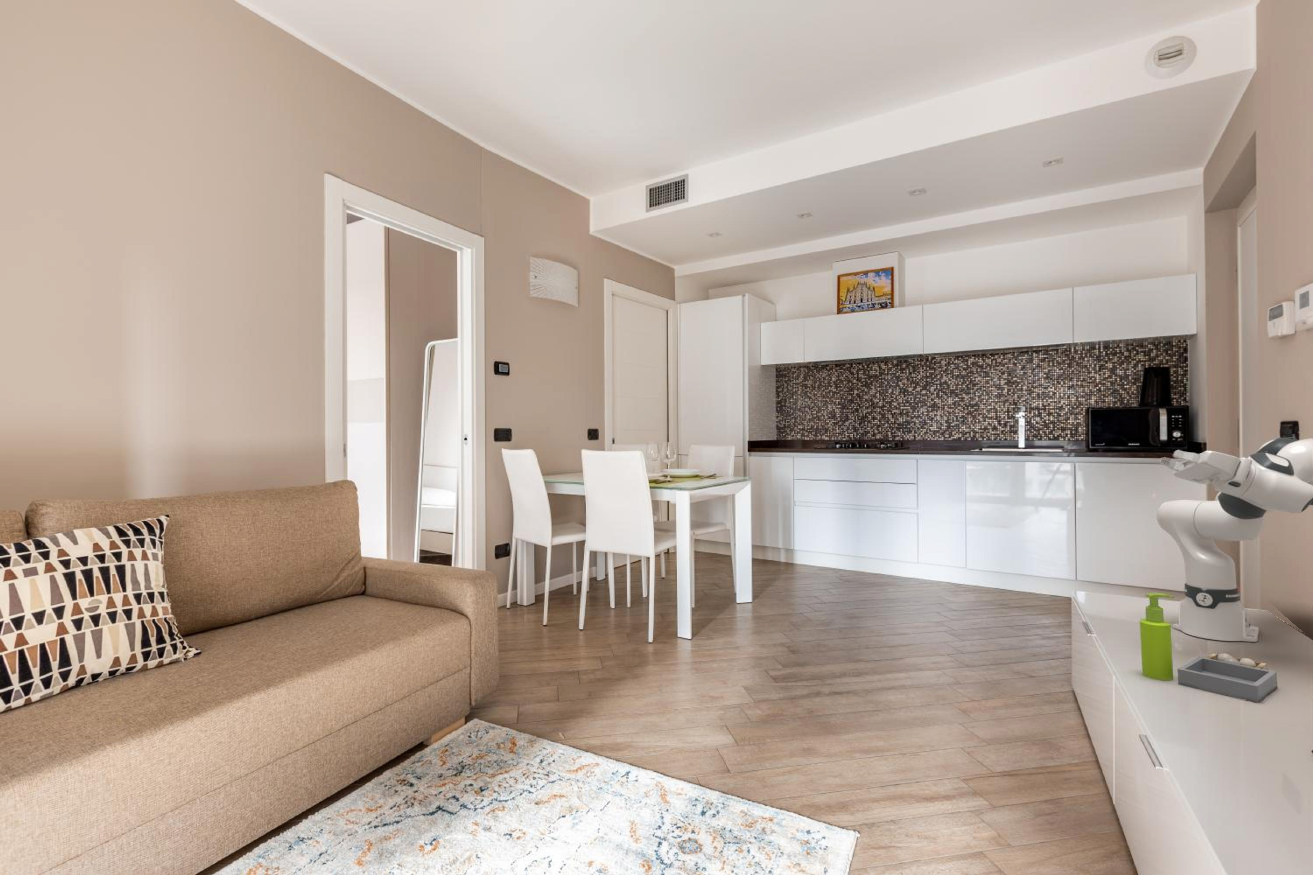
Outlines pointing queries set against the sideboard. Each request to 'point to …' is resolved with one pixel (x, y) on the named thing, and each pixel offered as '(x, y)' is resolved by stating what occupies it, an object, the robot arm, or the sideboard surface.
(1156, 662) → the soap dispenser
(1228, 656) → the pebble
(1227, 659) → the pebble
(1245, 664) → the pebble
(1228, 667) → the dish
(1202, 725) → the sideboard surface
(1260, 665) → the parts tray
